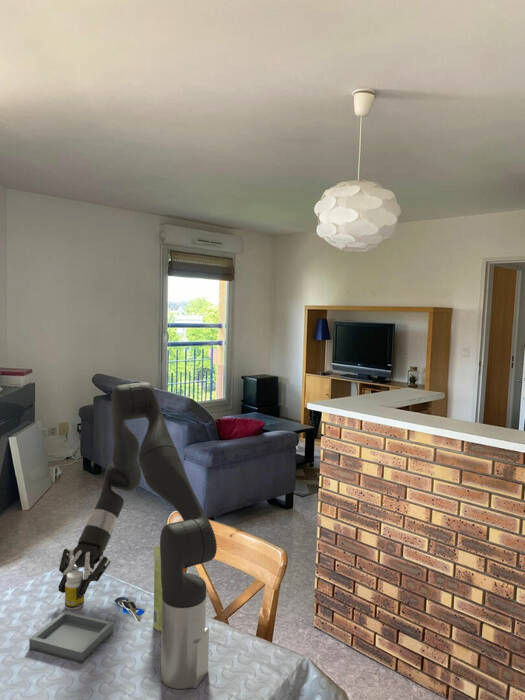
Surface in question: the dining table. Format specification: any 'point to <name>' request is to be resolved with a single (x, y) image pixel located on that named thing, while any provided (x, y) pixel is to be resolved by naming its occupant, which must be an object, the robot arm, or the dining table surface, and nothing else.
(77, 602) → the supplement bottle
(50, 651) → the tray
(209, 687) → the dining table surface
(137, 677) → the dining table surface
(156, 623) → the tube
